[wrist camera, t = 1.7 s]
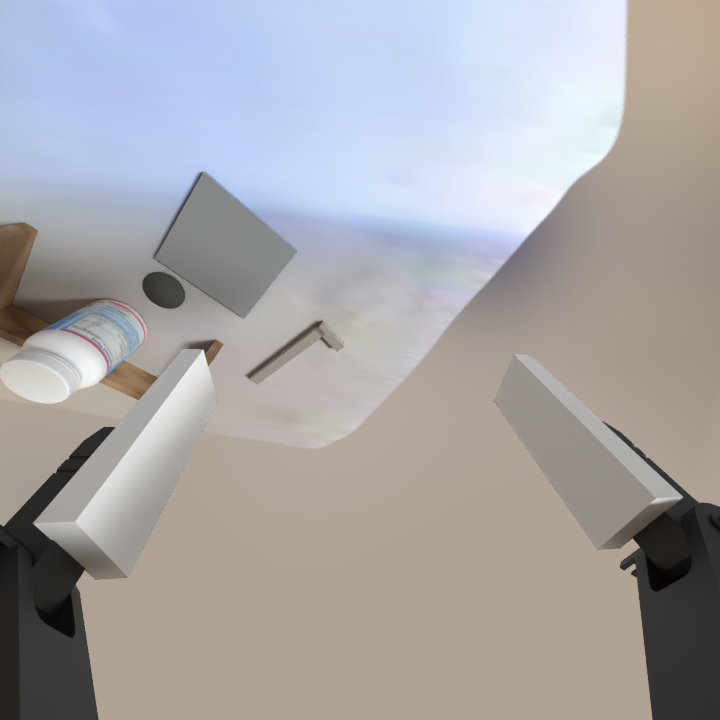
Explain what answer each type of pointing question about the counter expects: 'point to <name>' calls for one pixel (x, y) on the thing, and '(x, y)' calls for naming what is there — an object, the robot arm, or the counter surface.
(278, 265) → the coaster
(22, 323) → the cubby
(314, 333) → the crook tool
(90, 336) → the pill bottle
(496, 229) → the counter surface
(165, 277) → the disc
